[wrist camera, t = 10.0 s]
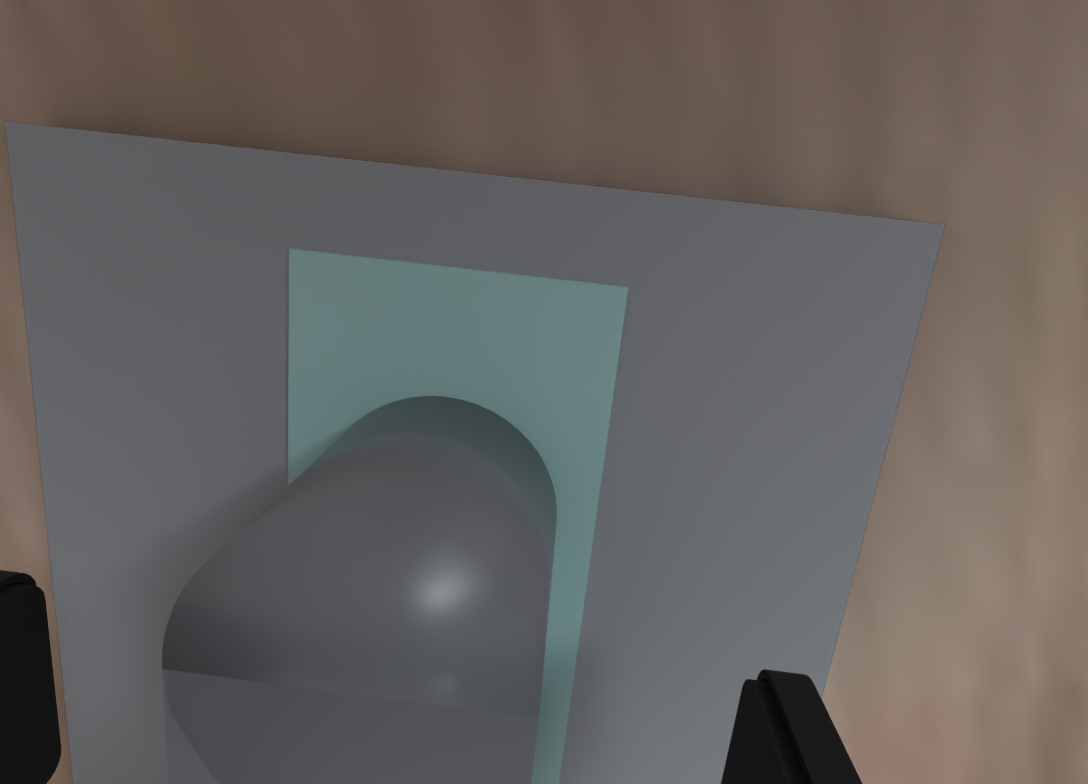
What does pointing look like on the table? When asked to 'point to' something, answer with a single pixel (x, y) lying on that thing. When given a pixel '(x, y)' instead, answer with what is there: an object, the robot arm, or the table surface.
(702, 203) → the dock pad
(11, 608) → the robot arm
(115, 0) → the table surface
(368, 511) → the usb plug
